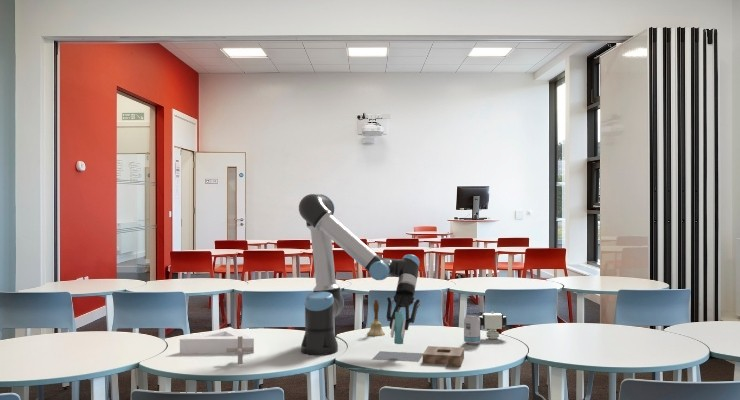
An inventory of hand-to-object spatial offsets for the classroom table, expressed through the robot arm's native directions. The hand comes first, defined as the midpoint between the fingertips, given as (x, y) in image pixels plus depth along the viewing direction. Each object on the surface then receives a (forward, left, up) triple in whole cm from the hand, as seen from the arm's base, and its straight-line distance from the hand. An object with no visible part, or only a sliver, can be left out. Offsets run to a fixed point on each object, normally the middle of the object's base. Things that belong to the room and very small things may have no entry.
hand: (397, 335), depth 244 cm
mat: (0, +4, -9) cm, 10 cm away
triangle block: (-77, +9, -10) cm, 78 cm away
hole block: (+18, +2, -9) cm, 20 cm away
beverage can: (+26, +36, -10) cm, 45 cm away
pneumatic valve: (+34, +49, -10) cm, 60 cm away
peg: (0, +4, -4) cm, 5 cm away
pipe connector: (-57, -17, -10) cm, 61 cm away
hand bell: (-19, +47, -10) cm, 51 cm away
